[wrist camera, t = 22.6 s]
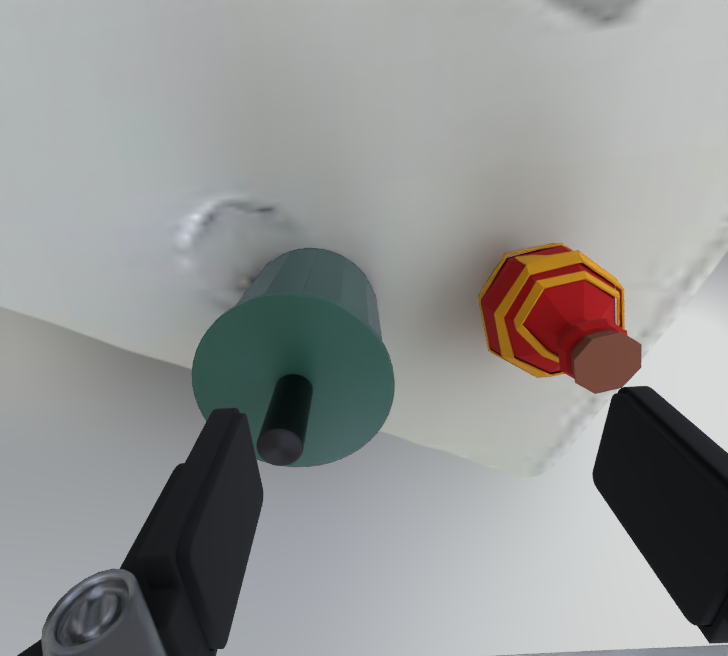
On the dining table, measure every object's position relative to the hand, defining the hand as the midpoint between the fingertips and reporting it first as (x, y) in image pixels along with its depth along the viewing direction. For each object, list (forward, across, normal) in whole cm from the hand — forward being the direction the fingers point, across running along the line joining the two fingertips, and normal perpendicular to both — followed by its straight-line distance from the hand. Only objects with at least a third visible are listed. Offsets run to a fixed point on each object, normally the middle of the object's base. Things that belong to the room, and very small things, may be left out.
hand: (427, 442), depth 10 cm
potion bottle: (+27, -13, +6) cm, 31 cm away
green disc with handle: (+14, +6, +7) cm, 17 cm away
